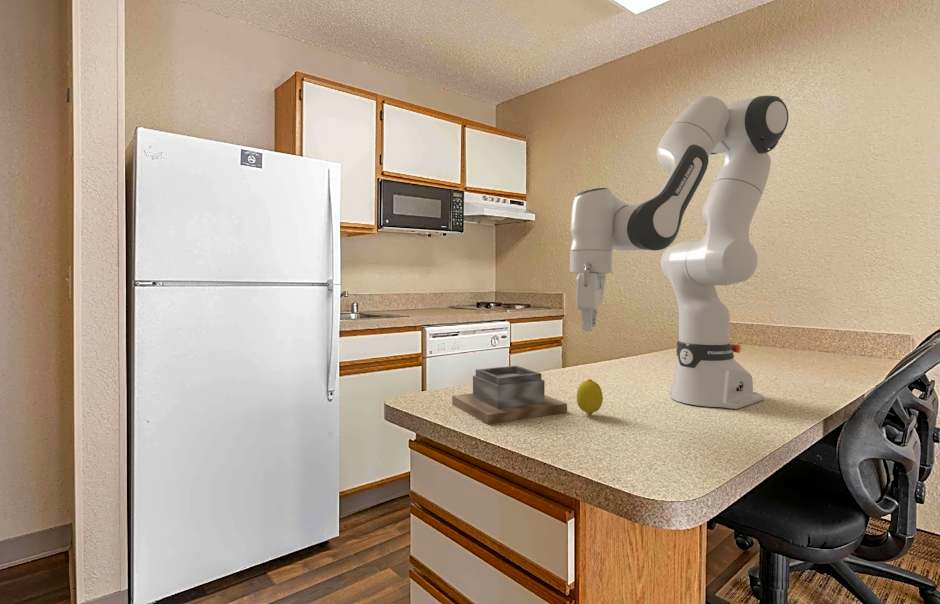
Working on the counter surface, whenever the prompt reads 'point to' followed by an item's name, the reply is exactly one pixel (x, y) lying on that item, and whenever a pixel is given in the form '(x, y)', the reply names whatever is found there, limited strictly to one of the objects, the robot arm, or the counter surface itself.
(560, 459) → the counter surface
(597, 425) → the counter surface
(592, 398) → the lemon
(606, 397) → the counter surface
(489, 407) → the plinth
